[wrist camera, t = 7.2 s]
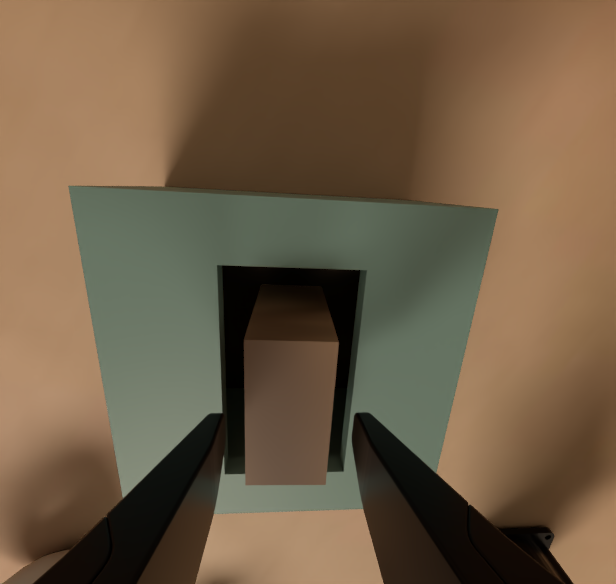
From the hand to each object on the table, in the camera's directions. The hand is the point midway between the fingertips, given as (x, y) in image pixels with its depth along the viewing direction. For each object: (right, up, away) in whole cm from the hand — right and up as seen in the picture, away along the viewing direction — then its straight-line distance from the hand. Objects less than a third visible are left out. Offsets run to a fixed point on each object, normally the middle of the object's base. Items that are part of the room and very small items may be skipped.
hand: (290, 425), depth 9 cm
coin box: (-1, +3, +9) cm, 9 cm away
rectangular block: (0, +2, +5) cm, 5 cm away
